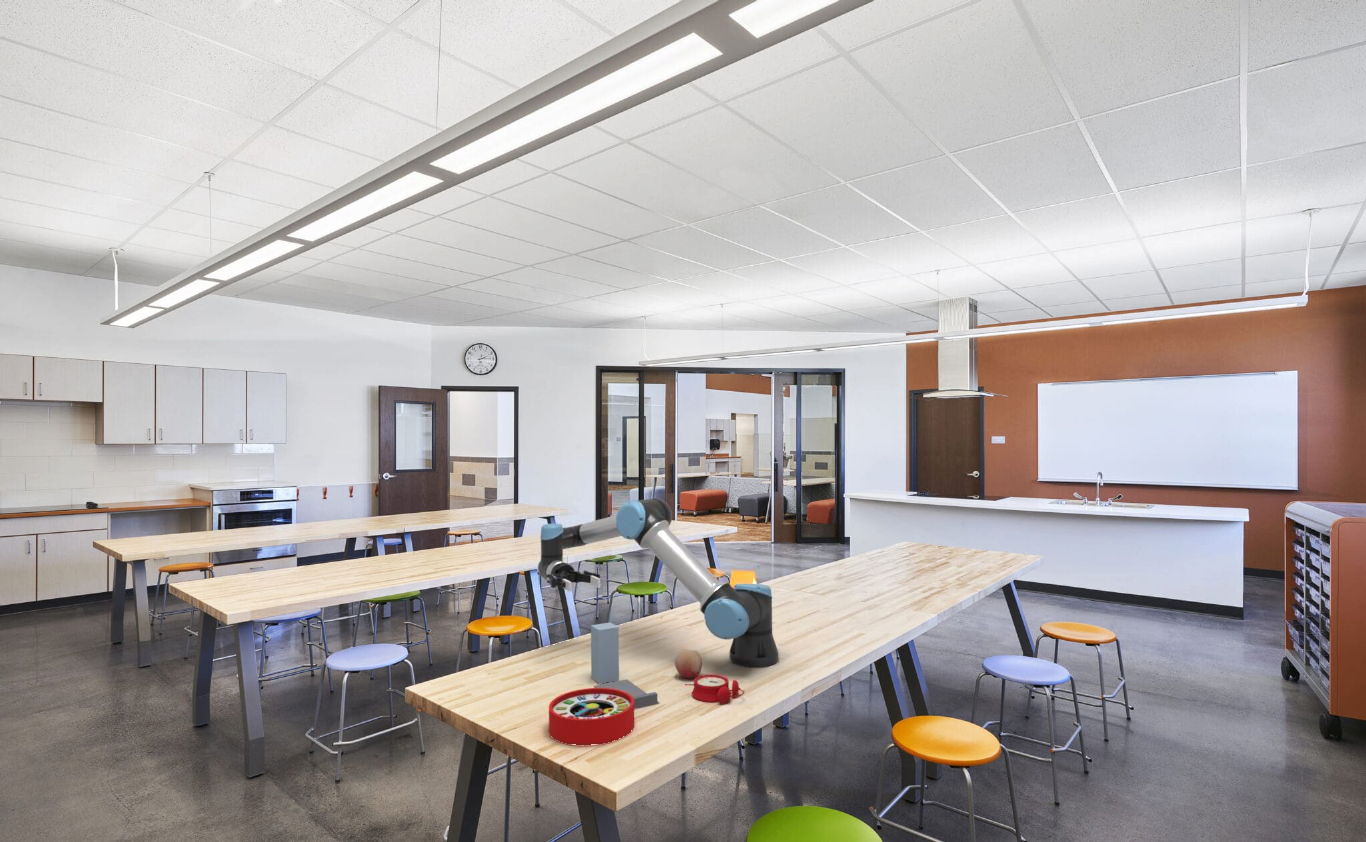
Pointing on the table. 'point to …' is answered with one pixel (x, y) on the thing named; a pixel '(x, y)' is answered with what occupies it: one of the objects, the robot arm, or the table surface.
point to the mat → (632, 692)
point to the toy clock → (591, 716)
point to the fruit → (688, 663)
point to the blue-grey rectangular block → (605, 652)
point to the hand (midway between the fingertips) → (585, 585)
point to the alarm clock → (714, 689)
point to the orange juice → (742, 577)
